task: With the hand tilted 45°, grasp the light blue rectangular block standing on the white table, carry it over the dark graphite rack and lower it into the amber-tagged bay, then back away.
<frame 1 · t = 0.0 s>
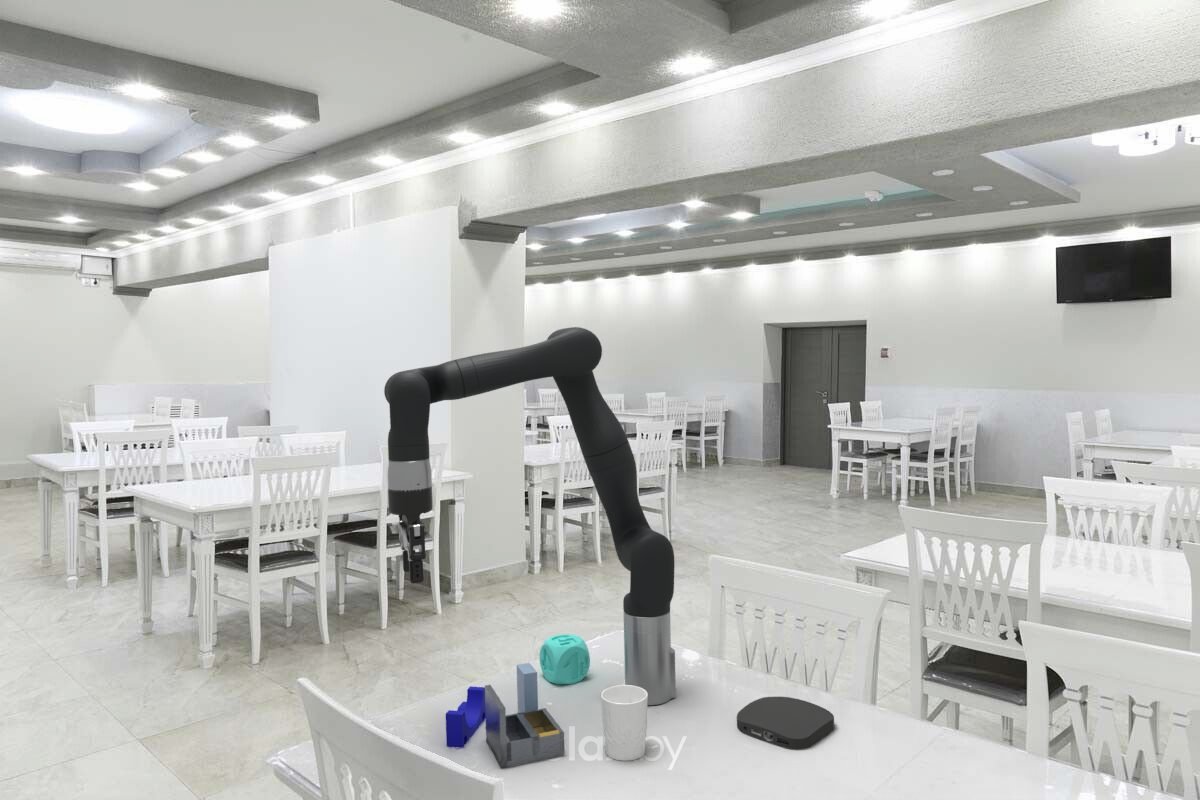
hand: (413, 576, 142), 29 cm above the table, tool pointing down, fingers open, 8 cm apart
rack: (524, 748, 139), on the table
blue piece: (463, 733, 146), on the table
white cup: (625, 752, 137), on the table
media streaming box: (785, 729, 145), on the table
light blue rectangular block: (528, 721, 150), on the table
decorative dice: (565, 678, 170), on the table
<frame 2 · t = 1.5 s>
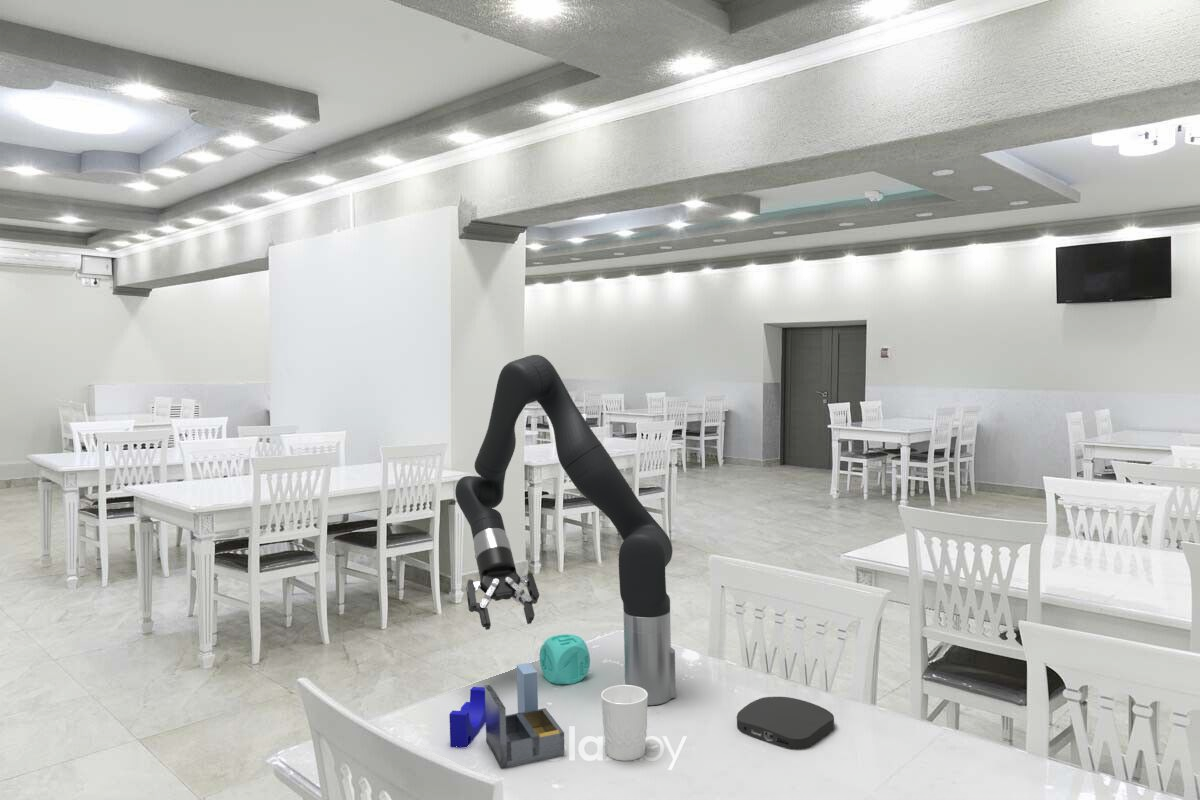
hand: (509, 624, 160), 15 cm above the table, tool tilted 45°, fingers open, 8 cm apart
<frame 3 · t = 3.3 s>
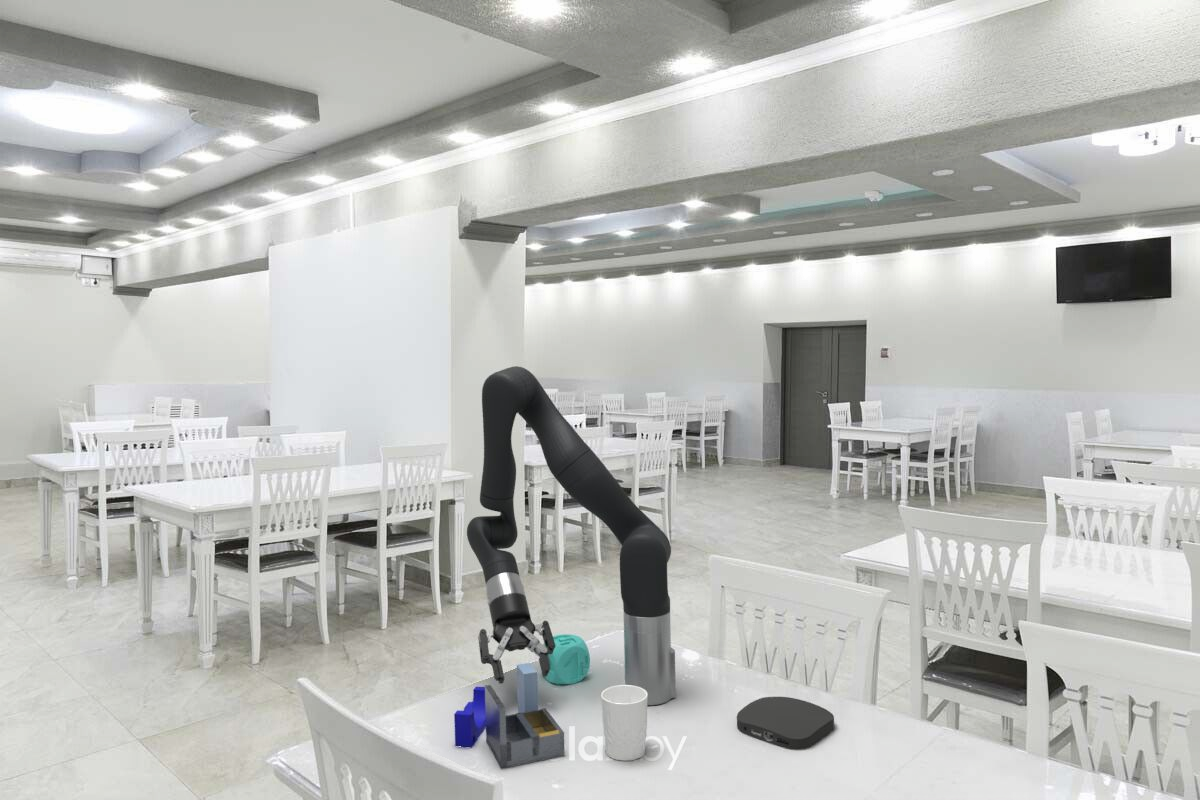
hand: (524, 678, 151), 7 cm above the table, tool tilted 45°, fingers open, 8 cm apart
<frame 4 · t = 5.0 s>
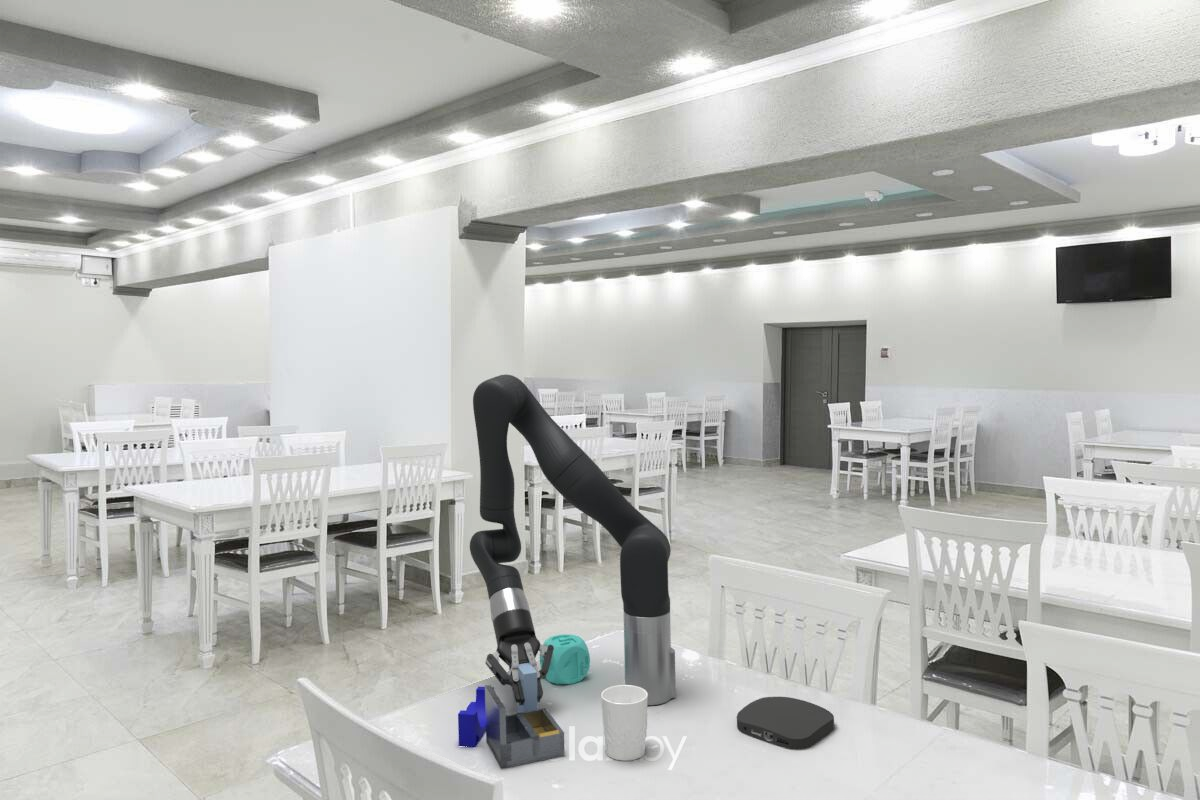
hand: (530, 701, 148), 5 cm above the table, tool tilted 45°, fingers closed on light blue rectangular block, 2 cm apart
light blue rectangular block: (527, 721, 150), on the table, touching gripper
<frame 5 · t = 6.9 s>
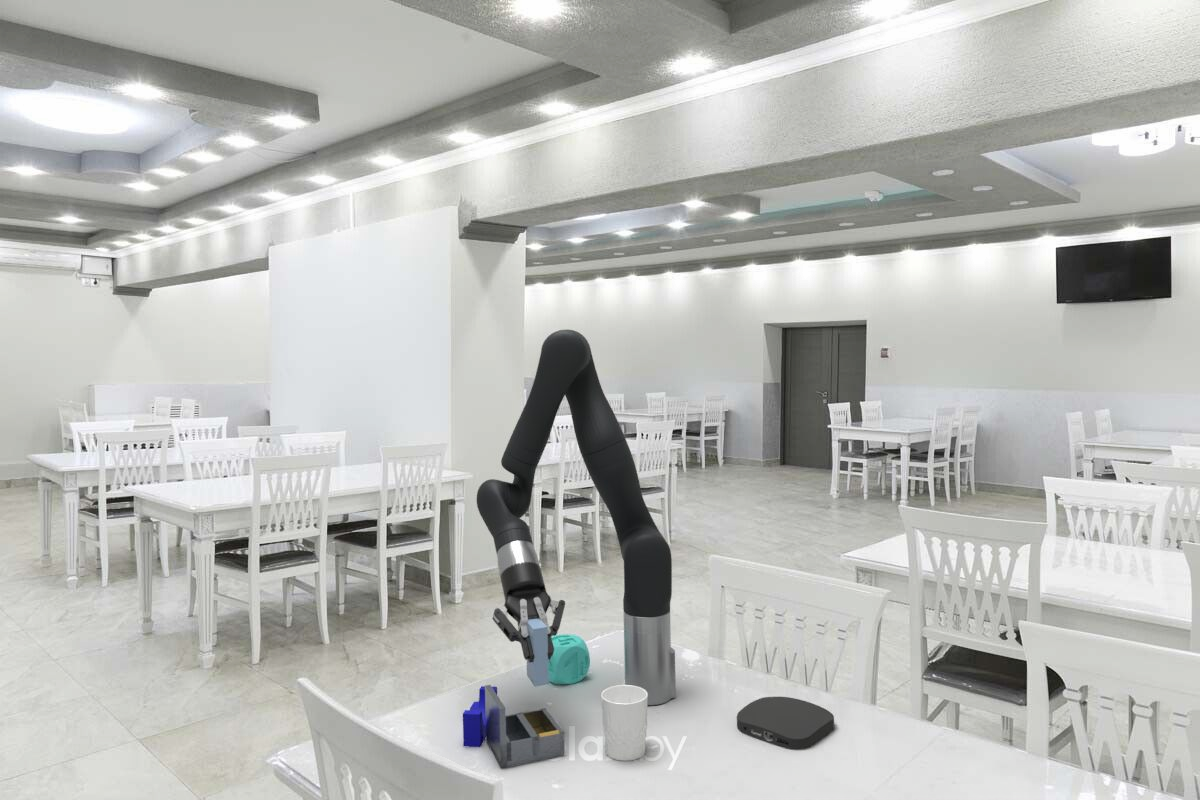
hand: (540, 658, 138), 16 cm above the table, tool tilted 45°, fingers closed on light blue rectangular block, 2 cm apart
light blue rectangular block: (537, 679, 140), point 11 cm above the table, touching gripper
when the fingers open (7 cm above the table, at t = 9.2 s): light blue rectangular block drops 2 cm, resting on rack.
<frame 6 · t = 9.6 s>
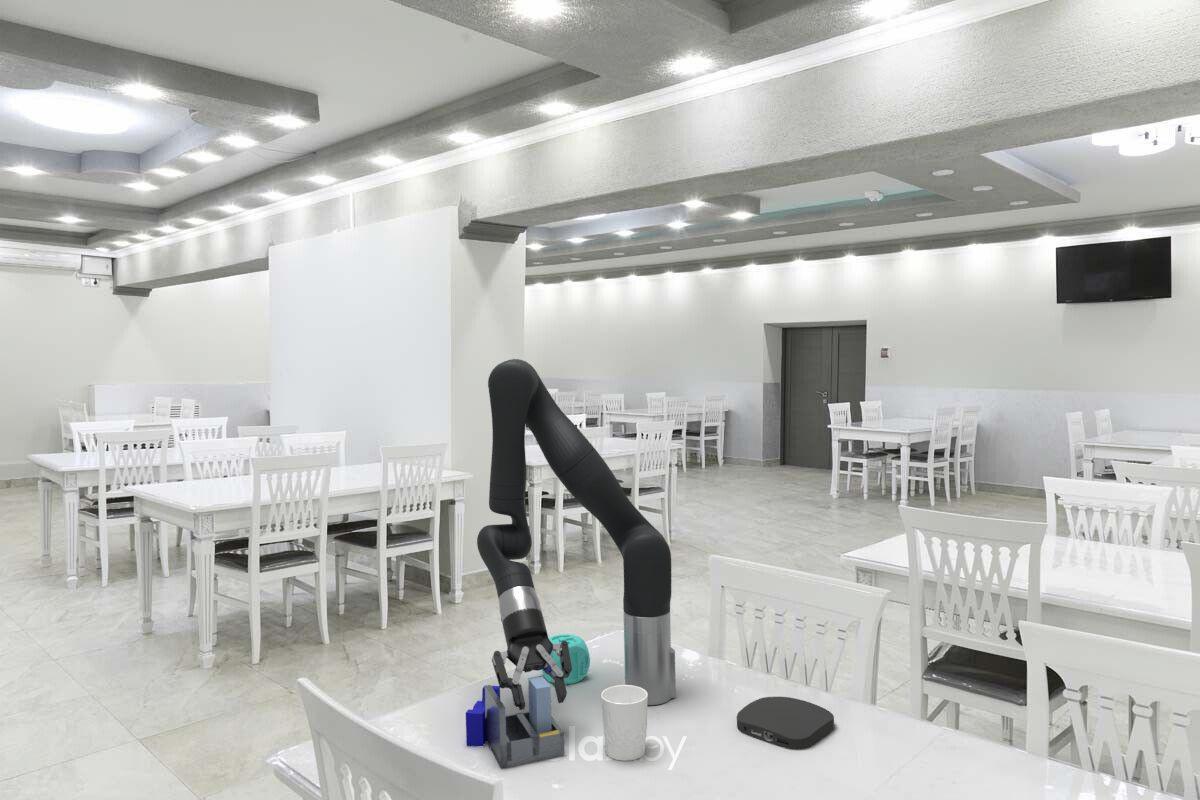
hand: (542, 704, 138), 8 cm above the table, tool tilted 45°, fingers open, 6 cm apart
light blue rectangular block: (540, 738, 140), point 1 cm above the table, touching rack
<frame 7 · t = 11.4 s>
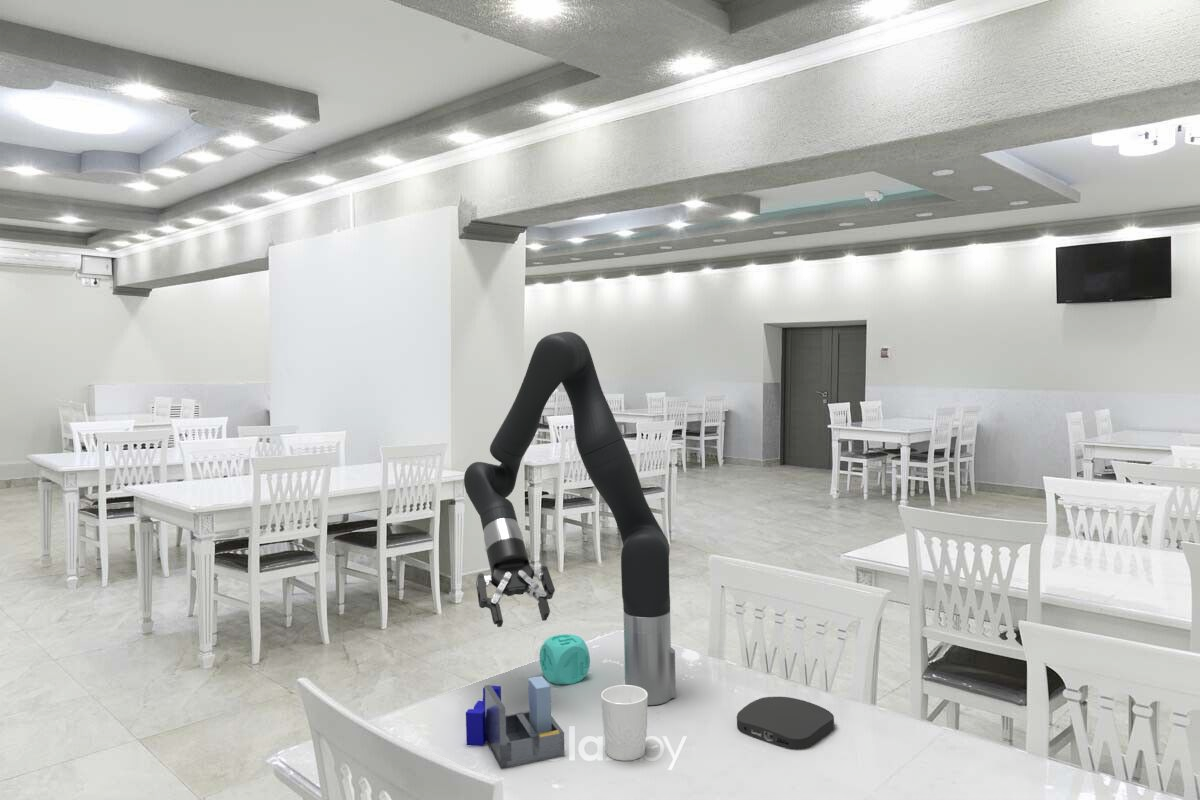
hand: (523, 621, 148), 19 cm above the table, tool tilted 45°, fingers open, 8 cm apart
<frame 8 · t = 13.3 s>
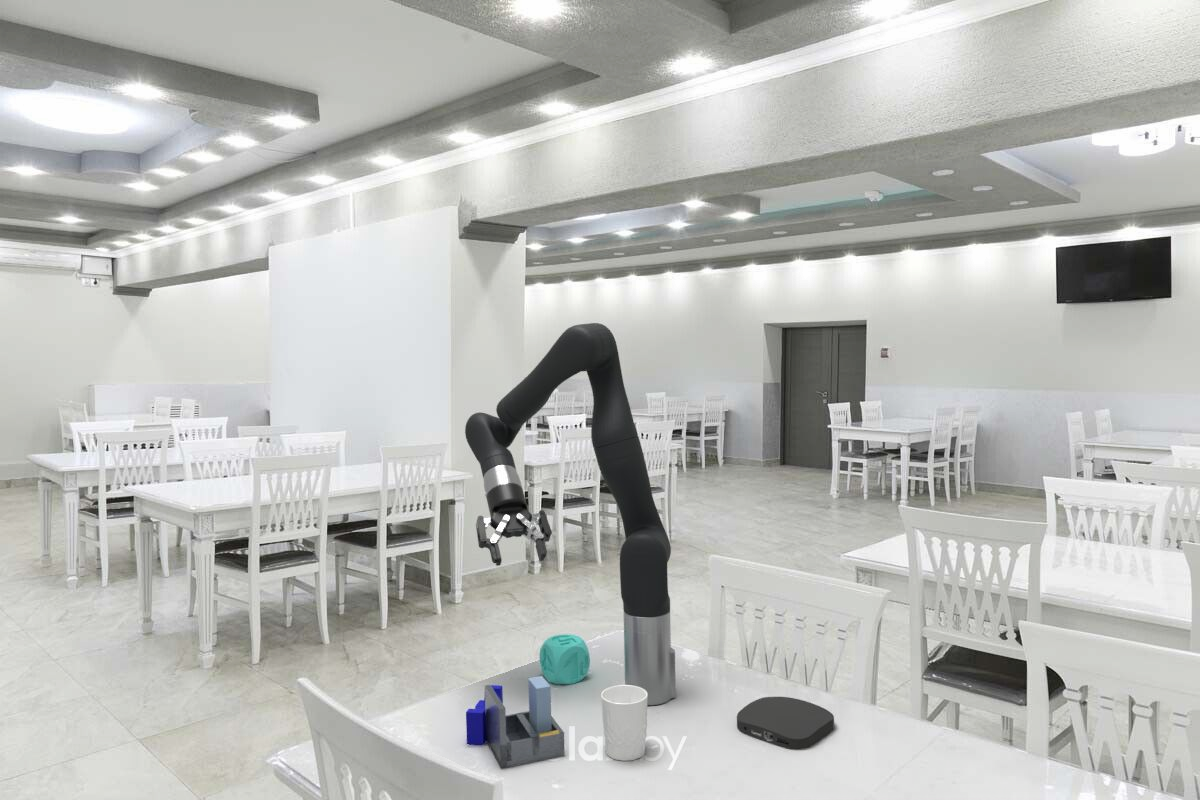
hand: (521, 561, 154), 29 cm above the table, tool tilted 45°, fingers open, 8 cm apart
at the end: light blue rectangular block 0.1 cm from the target spot on the rack, point 1.1 cm above the rack's base; light blue rectangular block tilted 0°; the gripper is holding nothing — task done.
